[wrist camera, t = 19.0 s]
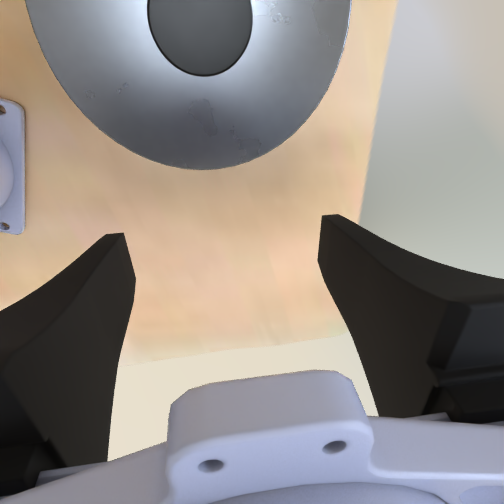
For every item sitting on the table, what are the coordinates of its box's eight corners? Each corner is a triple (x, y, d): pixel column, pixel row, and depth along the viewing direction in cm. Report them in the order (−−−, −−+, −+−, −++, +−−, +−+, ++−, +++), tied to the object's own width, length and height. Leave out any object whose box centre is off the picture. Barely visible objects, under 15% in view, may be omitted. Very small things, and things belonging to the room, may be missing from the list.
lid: (31, 120, 14) (-51, 174, 9) (33, -319, 8) (-158, -723, 4) (280, 186, 17) (314, 252, 12) (395, -106, 11) (532, -187, 7)
